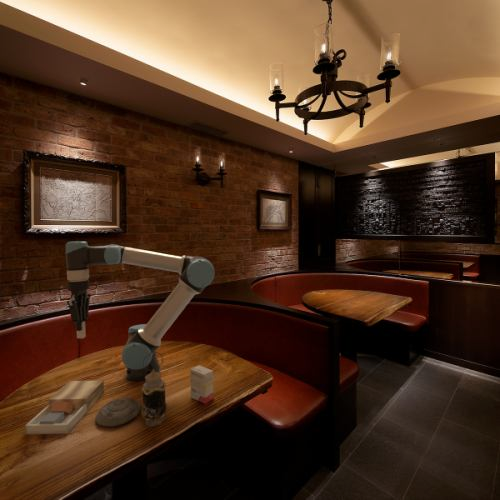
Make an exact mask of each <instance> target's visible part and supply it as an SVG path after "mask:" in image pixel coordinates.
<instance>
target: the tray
mask: <svg viewBox="0 0 500 500" xmlns="http://www.w3.org/2000/svg"><path fill="white" fill-rule="evenodd" d="M50 411H51V405H49V404H48V405H47V406H45V407H44V408H43V409H42V410H41V411H40V412H38V414H36V415H35V416H34V417H33V418H32V419H30V420H29V421H28V422H27V423H26V424H25V425H24V432H25V435H52V434H53V435H55V434H56V435H58V434H59V435H61V434H63V435H65V434H69V433H70V432H71V431H72V430H73V428H74V427H75V426H76V425H77V424H78V423H79V421H80V420H81V419H82V418H83V417H84V416H85V415H86V413H87V412H88V411H87V404H84V405H83V406H82V407H81V408H80V409H79V410H72V413H71V414H64V421H63V422H62V423H57V424H39V421H40V420H41V419H42V418H44V417H45V416H46V415H47V414H48V413H49V412H50Z"/></svg>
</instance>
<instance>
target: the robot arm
mask: <svg viewBox="0 0 500 500" xmlns="http://www.w3.org/2000/svg"><path fill="white" fill-rule="evenodd" d="M64 254H65V260H66V261H65V262H66V279H67V282H66V283H67V291H69V292H71V294H70V300H67V301H66V304H67V305H68V310H69V313H70V319H71V323H73V324H75V325H76V327H75V328H76V338H77V339H85V338H86V337H87V335H86V332H87V331H86V322H87V321H88V320H89V312H90V299H91V295H92V294H91V293H88V291H87V290H89V289H90V279H89V278H90V270H89V269H90V267H89V266H92V265H109V266H110V265H116V264H127V265H132V266H138V267H143V268H144V267H145V268H149V269H150V268H151V269H157V270H162V271H167V272H173V273H174V272H175V273H178V274H179V277H178V284H177V285H176V286H175V287H174V288H173V290H172V291H171V293H170V294H169V295H168V296H167V298H165V300H164V302H163V303H162V304H161V305H160V306H159V308H158V309H157V310H156V311H155V313H154V314H153V315H152V317H151V318H150V319H149V321H148V322H147V323H146V324H145V323H143V324H141V323H140V324H137V325H135V324H134V325H133V326H130V327H129V328H128V332H127V334H128V339H127V340H126V343H125V346H124V348H123V349H122V352H121V360H122V364H123V365H124V366H125V367H127V368H126V370H125V377H126V379H127V380H128V381H133V382H143V381H146V379H145V377H146V376H147V375H148V374H150V373H151V372H152V371H148V370H153V369H154V371H155V372H157V373H160V372H161V366H160V365H161V364H160V362H159V360H158V357H157V353H151V352H157V350H158V349H159V347H160V346H161V344H162V338H163V336H165V334H166V332H167V331H168V330H169V329H170V328H171V326H172V325H173V323H174V322H175V321H176V320H177V319H178V317H179V316H180V315H181V314H182V312H183V311H184V309H185V308H186V306H187V305H188V304H189V303H190V302H191V300H192V299H193V298H194V296H195V295H198V294H199V295H200V294H201V293H202V292H203V290H204V289H206V287H207V286H209V285H210V284H212V282H213V280H214V279H215V273H216V272H215V267H214V265H213V263H212V262H211V261H210V260H209V259H207V258H206V257H203V256H198V255H197V256H196V255H195V256H193V255H185V254H184V255H182V256H180V255H173V254H168V253H167V254H166V253H163V252H162V253H161V252H156V251H151V250H146V249H145V250H144V249H140V248H135V247H129V246H122V245H118V244H117V243H116V244H114V243H111V244H107V245H106V244H105V245H96V246H92V245H91V246H90V245H89V244H88V241H83V240H82V241H68V242H66V243H65V253H64ZM149 353H150V354H149ZM147 354H149V355H147ZM146 355H147V356H146ZM145 356H146V358H145ZM144 358H145V359H144ZM143 360H144V367H145V368H146V369H147V370H146V369H145V368H144V367H143ZM159 366H160V367H159ZM158 367H159V368H158ZM157 368H158V369H157ZM155 369H157V370H155Z"/></svg>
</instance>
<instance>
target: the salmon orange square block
mask: <svg viewBox="0 0 500 500" xmlns="http://www.w3.org/2000/svg"><path fill="white" fill-rule="evenodd" d="M73 407H74V404H72V403H70V402H53V405H52V408H51V411H50V412H64V414H71V413H72V410H73Z"/></svg>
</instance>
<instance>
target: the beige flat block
mask: <svg viewBox="0 0 500 500" xmlns="http://www.w3.org/2000/svg"><path fill="white" fill-rule="evenodd" d="M104 393H105V382H104V380H69V381H68V382H67V383H66V384H64V385H63V386H62V387H61V388H59V390H57V392H55V393H54V394H53V395H52V396H51V397H49V398H48V405H51V408H52V405H53V402H70V403H72V404H74V407H73V410H79V409H80V408H81V407H82V406H83V405H84V404H87V412H88V411H89V410H90V409H91V408H92V407H93V405H94V404H95V403H96V402H97V401H98V400H99V399H100V397H101V396H102V395H103V394H104Z"/></svg>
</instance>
